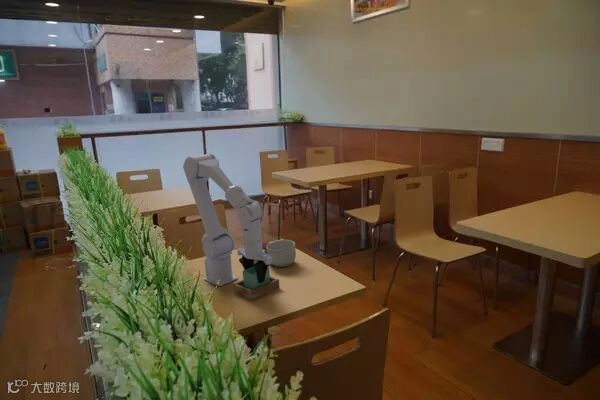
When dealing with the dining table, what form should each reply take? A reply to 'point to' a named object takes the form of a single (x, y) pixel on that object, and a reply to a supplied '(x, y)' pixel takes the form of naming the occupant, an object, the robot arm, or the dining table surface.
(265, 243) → the cupcake
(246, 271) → the teal crate
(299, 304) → the dining table surface
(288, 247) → the teacup
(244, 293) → the walnut crate
